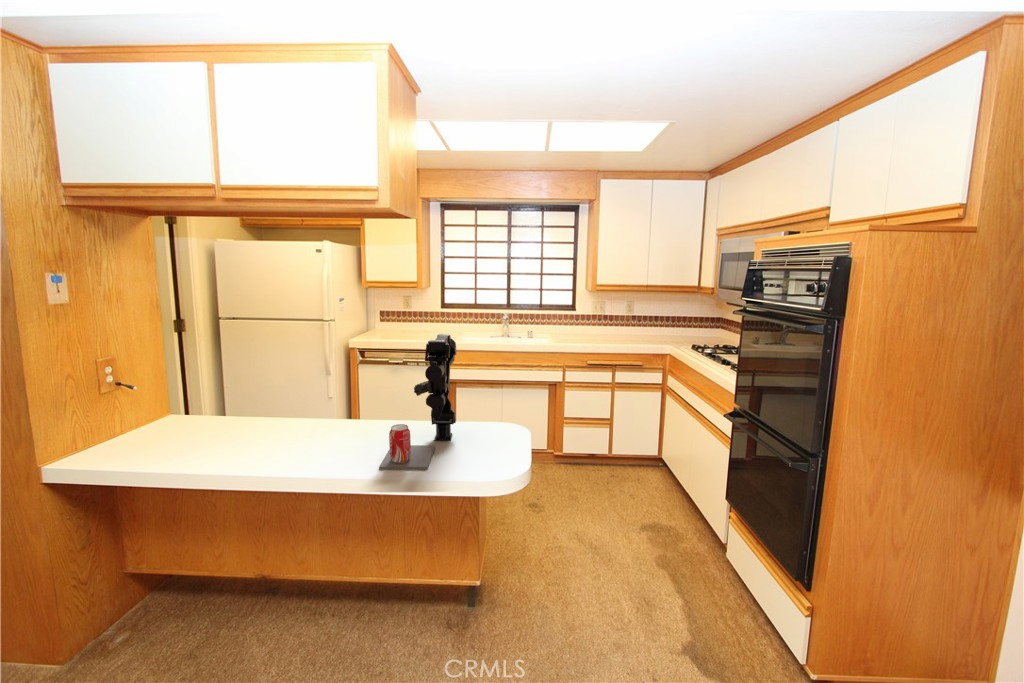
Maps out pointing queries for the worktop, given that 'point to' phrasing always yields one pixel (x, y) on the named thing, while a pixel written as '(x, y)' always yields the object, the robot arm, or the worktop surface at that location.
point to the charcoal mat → (411, 459)
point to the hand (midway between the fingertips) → (438, 416)
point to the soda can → (400, 443)
